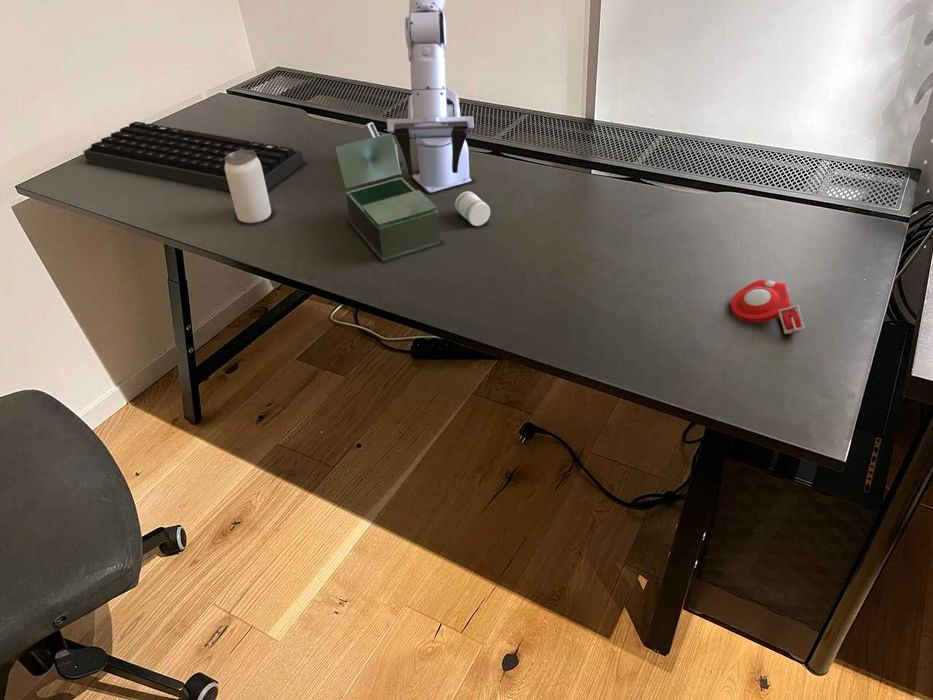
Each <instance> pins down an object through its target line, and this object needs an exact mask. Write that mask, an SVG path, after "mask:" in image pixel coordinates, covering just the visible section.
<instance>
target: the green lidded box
mask: <svg viewBox="0 0 933 700" xmlns="http://www.w3.org/2000/svg"><path fill="white" fill-rule="evenodd" d="M345 197H346V203H347V210H348V217H349V223H350V225H351V226H352V227H353V228H354V230H355V231H356V232H357V233H358V234H359V236H360V237H361V238H362V239H363V241H364V242H365V243H366V244H367V245H368V246H369V248H370V249H371V250H372V251H373V252H374V253H375V254H376V255H377V257H378V258H379V259H380V260H381V261H382V262H383V263H384V262H386V261H390V260H393V259H396V258H400V257H403V256H406V255H409V254H412V253H413V254H414V253H416V252H419V251H422V250H426V249H428V248H432V247H435V246H438V245H440V244H441V239H440V225H439V223H440V222H439V211H438V206H437V205H436V204H434V202H432V201H431V200H430V199H429V198H428V197H427V196H426V195H425V194H424V193H423V192H422V191H420V190H419V189H417V190H416V189H415V188H414V187H412V186H411V184H410V183H408V181H406V180H405V179H404V178H403V177H402V176H401V177H397V178H393V179H390V180H386V181H382V182H379V183H375V184H371V185H368V186H363V187H360V188H357V189H352V190H350V191H346V192H345Z"/></svg>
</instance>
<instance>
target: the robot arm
mask: <svg viewBox="0 0 933 700" xmlns="http://www.w3.org/2000/svg"><path fill="white" fill-rule="evenodd" d="M445 4H446V0H409V6H408V7H409V8H408V16H405V19H404V33H405V34H404V35H405V42H406V43H405V44H406V47H407V54H408V61H409V62H410V65H409V66H410V82H411V83H410V84H411V95H409V98H408V108H407V118H387V119H386V127H387V132H393V135H394V136H395V139H396V141H397V143H398V145H399V147H400V150H401V152H402V156H403V158H404V161H405V164H406V168H407V169H406V170H407V175H408V176H412V179H413V180H414V181H416V183H418V184H419V185H420V186H421V187H422V188H423V189H424V190H425V191H426V192H427V193H429V194H431V193H432V194H433V193H436V192H439V191H442V190H445V189H449V188H452V187H456V186H460V185H464V184H467V183H470V182H472V178H471V177H470V157H469V147H468V142H467V140H466V139H467V136H468V134H469V129H474V128H475V124H474V116H473V115H468V116H467V115H466V116H465V115H463V116H461V107H460V97H459V96H458V94H457V93H456V92H455V91H453V90H452V89H450V88H449V87H448V86H447V83H446V62H445V50H444V49H446V48H447V21H446V16H445V11H444V7H445ZM411 139H412V140H415V144H416V145H417V155H418V168H419V173H416V174H413V164H412V163H413V162H412V157H411V155H412V154H411Z"/></svg>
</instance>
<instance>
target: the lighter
mask: <svg viewBox="0 0 933 700" xmlns="http://www.w3.org/2000/svg"><path fill="white" fill-rule="evenodd" d="M363 129H364V131H365V134H366V136H367V139H370V138H374V137H378V136H380V135H379V133H378V130H377V128H376V125H375V124H374V122H373V121H370V122H368V123H366V124H364V125H363ZM394 145H395V149H396V153H397V158H398V159H399V154H398V145H397V143H394Z"/></svg>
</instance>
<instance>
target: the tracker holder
mask: <svg viewBox="0 0 933 700" xmlns="http://www.w3.org/2000/svg"><path fill="white" fill-rule="evenodd" d="M790 300H791V299H790V295H789V292H788V289H787V283H784V282H780V281H775V280H769V279H761V278H760V279H757V280H756V281H753V282H752V283H750V284H747V285H746V286H745V287H742V288H741V289H739V290H738V291H737V292H736V293H735V294H734V295H733V296H732V298H731V301H730V309H731V312H732V314H733V316H735V318H737V319H738V320H741V321H742V322H745V323H752V324H753V323H754V324H755V323H756V324H757V323H758V324H759V323H764V322H768V321H772V320H774V319H778V320H779V321H780V322H781V326H782V330H783V333H784V335H790V334H796V333H798V332H801V331H805V330H806V327H805V323H804V319H803V316H802V314H801V310H800V306H799V305H798V304H796V305H793V306H792V305H791V301H790Z"/></svg>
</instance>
